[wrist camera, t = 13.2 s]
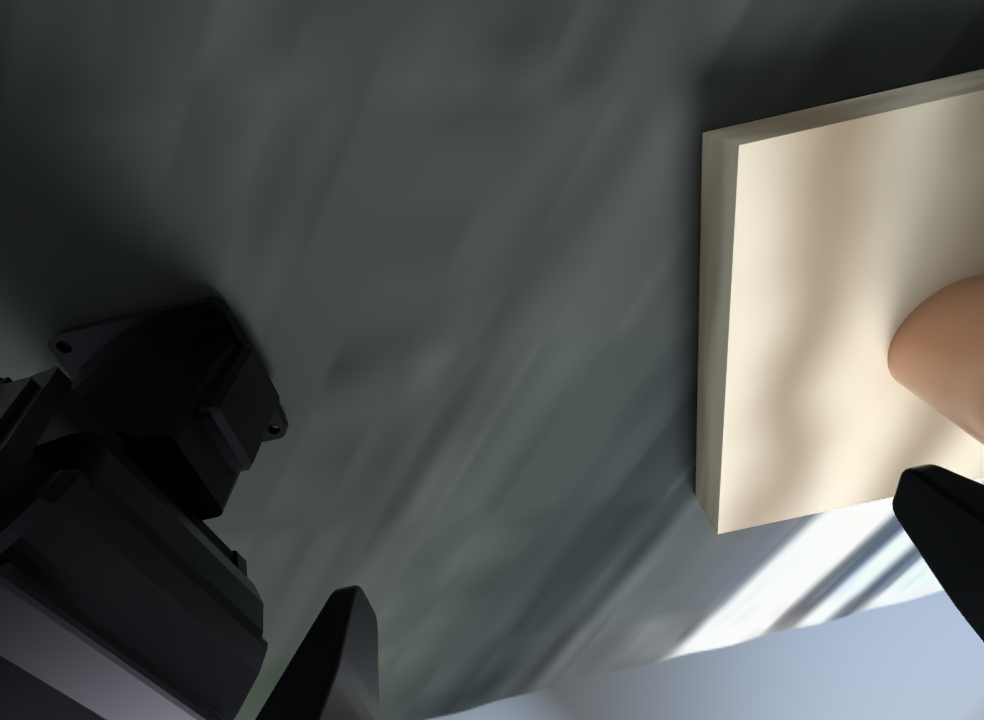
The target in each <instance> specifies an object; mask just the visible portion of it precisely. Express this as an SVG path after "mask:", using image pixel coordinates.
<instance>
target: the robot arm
mask: <svg viewBox="0 0 984 720" xmlns="http://www.w3.org/2000/svg"><path fill="white" fill-rule="evenodd" d="M207 308H212V309H215V310H216V311H217V312H218V316H217V315H212V314H210V313H209V312H208V310H207ZM63 341H64V342H67V343H68V344H69V345H71V347H72V348H70V347H68V346H66V345H65V344H64V343H63ZM48 346H49V348H50V350H51V351H52V353H53V354H54V355H55V357H56V358H57V359H58V361H59V362H60V363H61V365H62V366H63V367H64V368H65V370H66V371H67V372H68V374H69V375H70V376H71V377H70V378H69V379H68V378H67V376H66V375H65V374H64V373H63V372H62V371H61V370H60V369H59V368H58V367H55V368H52V369H49V370H46V371H44V372H41V373H38V374H36V375H33V376H31V377H28V378H24V379H20V380H16V381H12V380H11V379H10V378H9V377H6V378H0V720H234V719H235V717H236V716H237V714H238V712H239V710H240V708H241V707H242V705H243V703H244V701H245V699H246V697H247V695H248V693H249V692H250V690H251V688H252V686H253V684H254V682H255V680H256V678H257V676H258V674H259V672H260V669H261V666H262V663H263V660H264V657H265V654H266V651H267V644H268V643H267V642H266V640H265V639H264V638H263V637H262V634H263V602H262V600H261V598H260V596H259V594H258V592H257V589H256V587H255V585H254V584H253V583H252V582H251V581H250V580H249V579H248V578H247V567H246V560H245V559H244V558H243V557H242V556H241V555H240V554H239V553H238V552H237V551H231V550H230V549H229V548H228V547H227V546H226V545H225V544H224V543H223V542H222V541H221V540H220V539H219V538H218V537H217V536H216V535H215V534H214V533H213V532H212V530H211V529H210V528H209V527H208V526H207V525H206V524H205V523H204V522H203V520H206V519H210V518H215V517H218V516H220V515H221V514H222V512H223V510H224V508H225V506H226V503H227V501H228V499H229V497H230V494H231V492H232V490H233V487H234V485H235V483H236V481H237V478H238V476H239V474H240V472H241V471H246V470H249V468H250V467H251V465H252V464H253V462H254V459H255V457H256V454H257V452H258V450H259V447H260V445H261V442H265V441H270V440H274V439H279V438H281V437H283V436H284V435H285V434H286V431H287V428H288V421H287V419H286V417H285V415H284V413H283V411H282V410H281V408H280V406H279V404H278V402H279V399H280V398H279V395H278V393H277V391H276V389H275V387H274V385H273V383H272V381H271V380H270V378H269V376H268V374H267V372H266V370H265V368H264V366H263V364H262V362H261V360H260V358H259V356H258V354H257V352H256V350H255V349H254V348H253V347H251V346H250V345H248V344H247V342H246V340H245V338H244V337H243V335H242V333H241V331H240V329H239V327H238V325H237V323H236V321H235V319H234V317H233V315H232V314H231V312H230V310H229V308H228V306H227V305H226V303H225V302H224V301H222V300H221V299H219V298H215V297H207V298H202V299H198V300H193V301H189V302H185V303H180V304H176V305H171V306H167V307H162V308H158V309H154V310H149V311H145V312H140V313H136V314H131V315H127V316H123V317H118V318H114V319H109V320H105V321H100V322H96V323H91V324H87V325H83V326H78V327H74V328H69V329H65V330H61V331H59V332H57V333H56V334H55V335H53V336H52V337H51V338H50V339H49V341H48ZM271 425H276V426H278V427H279V428H273V427H272V426H271ZM892 504H893V510H894V513H895V516H896V518H897V519H898V521H899V522H900V524H901V525H902V527H903V528H904V530H905V531H906V533H907V534H908V536H909V537H910V539H911V540H912V542H913V543H914V545H915V547H916V548H917V550H918V551H919V553H920V554H921V556H922V557H923V559H924V560H925V562H926V563H927V565H928V566H929V568H930V569H931V571H932V572H933V574H934V575H935V577H936V578H937V580H938V581H939V583H940V584H941V586H942V587H943V589H944V590H945V592H946V593H947V595H948V596H949V597H950V599H951V600H952V602H953V603H954V605H955V606H956V607H957V609H958V610H959V611H960V612H961V614H962V615H963V616H964V617H965V619H966V620H967V622H968V623H969V624H970V625H971V627H972V628H973V629H974V630H975V632H976V633H977V634H978V635H979V637H980V638H981V639H982V640H983V642H984V485H983V484H980V483H978V482H976V481H973V480H971V479H969V478H966V477H964V476H962V475H959V474H957V473H955V472H952V471H950V470H948V469H945V468H943V467H940V466H938V465H934V464H925V465H920V466H915V467H911V468H907V469H905V470H904V471H903V472H902V474H901V476H900V479H899V482H898V486H897V489H896V492H895V495H894V498H893V503H892ZM255 720H379V678H378V628H377V619H376V615H375V612H374V610H373V608H372V607H371V605H370V603H369V601H368V599H367V597H366V595H365V594H364V592H363V590H362V589H361V587H359V586H357V585H354V586H350V587H345V588H340V589H337V590H335V591H334V592H333V593H332V594H331V596H330V597H329V599H328V600H327V602H326V604H325V605H324V607H323V609H322V610H321V612H320V614H319V615H318V617H317V619H316V620H315V622H314V624H313V625H312V627H311V628H310V630H309V632H308V633H307V635H306V637H305V638H304V640H303V642H302V643H301V645H300V647H299V648H298V650H297V652H296V653H295V655H294V657H293V658H292V660H291V662H290V663H289V665H288V666H287V668H286V670H285V671H284V673H283V675H282V676H281V678H280V680H279V681H278V683H277V685H276V686H275V688H274V690H273V691H272V693H271V695H270V696H269V698H268V700H267V701H266V703H265V705H264V706H263V708H262V709H261V711H260V713H259V714H258V716H257V718H256V719H255Z"/></svg>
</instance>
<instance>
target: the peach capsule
mask: <svg viewBox="0 0 984 720" xmlns="http://www.w3.org/2000/svg"><path fill="white" fill-rule="evenodd" d="M888 368H889V371H890V374H891V375H892V377H893V378H894V379H895V380H896V381H897V382H898V383H900V384H901V385H902V386H904V387H905V388H906V389H908V390H909V391H910V392H912V393H913V394H914V395H916V396H917V397H919V398H920V399H921V400H923V401H924V402H925V403H927V404H928V405H929V406H931V407H932V408H933V409H935V410H936V411H938V412H939V413H940V414H942V415H943V416H944V417H946V418H947V419H948V420H950V421H951V422H952V423H954V424H955V425H957V426H958V427H959V428H961V429H962V430H963V431H965V432H966V433H967V434H969V435H970V436H971V437H973V438H974V439H976V440H977V441H978V442H980V443H981V444H982V445H984V276H976V277H970V278H967V279H963V280H960V281H958V282H955V283H952V284H950V285H948V286H946V287H944V288H942V289H941V290H939V291H937V292H936V293H934V294H933V295H931V296H930V297H928V298H927V299H926V300H924V301H923V302H922V303H921V304H919V305H918V306H917V307H916V308H915V309H914V310H913V311H912V312H911V313H910V314H909V315H908V317H907V318H906V319H905V320H904V321H903V323H902V324H901V325H900V327H899V328H898V330H897V332H896V333H895V335H894V337H893V339H892V342H891V344H890V347H889V351H888Z"/></svg>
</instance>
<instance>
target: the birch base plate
mask: <svg viewBox="0 0 984 720" xmlns="http://www.w3.org/2000/svg"><path fill="white" fill-rule="evenodd" d="M976 276H984V69H980V70H976V71H972V72H967V73H963V74H958V75H954V76H950V77H945V78H941V79H936V80H932V81H928V82H923V83H919V84H914V85H910V86H906V87H901V88H897V89H892V90H888V91H884V92H879V93H875V94H870V95H866V96H862V97H857V98H853V99H848V100H844V101H840V102H835V103H831V104H826V105H822V106H818V107H813V108H809V109H804V110H800V111H796V112H791V113H787V114H782V115H778V116H774V117H769V118H765V119H760V120H756V121H752V122H747V123H743V124H738V125H734V126H730V127H725V128H721V129H716V130H712V131H708V132H703V133H702V183H701V235H700V287H699V339H698V391H697V443H696V495H695V496H696V498H697V499H698V501H699V503H700V505H701V506H702V508H703V510H704V511H705V513H706V515H707V517H708V518H709V520H710V522H711V524H712V525H713V527H714V529H715V530H716V532H717V534H721V533H726V532H730V531H735V530H740V529H744V528H749V527H754V526H758V525H763V524H768V523H772V522H777V521H782V520H786V519H791V518H796V517H800V516H805V515H810V514H814V513H819V512H824V511H828V510H833V509H838V508H843V507H847V506H852V505H857V504H861V503H866V502H871V501H875V500H880V499H885V498H889V497H894V495H895V492H896V489H897V486H898V482H899V479H900V476H901V474H902V472H903V471H904V470H905V469H907V468H911V467H915V466H920V465H925V464H934V465H938V466H940V467H943V468H945V469H948V470H950V471H952V472H955V473H957V474H959V475H962V476H964V477H966V478H969V479H971V480H973V479H978V478H983V477H984V445H982V444H981V443H980V442H978V441H977V440H976V439H974V438H973V437H971V436H970V435H969V434H967V433H966V432H965V431H963V430H962V429H961V428H959V427H958V426H957V425H955V424H954V423H952V422H951V421H950V420H948V419H947V418H946V417H944V416H943V415H942V414H940V413H939V412H938V411H936V410H935V409H933V408H932V407H931V406H929V405H928V404H927V403H925V402H924V401H923V400H921V399H920V398H919V397H917V396H916V395H914V394H913V393H912V392H910V391H909V390H908V389H906V388H905V387H904V386H902V385H901V384H900V383H898V382H897V381H896V380H895V379H894V378H893V377H892V375H891V374H890V371H889V368H888V351H889V347H890V344H891V342H892V339H893V337H894V335H895V333H896V332H897V330H898V328H899V327H900V325H901V324H902V323H903V321H904V320H905V319H906V318H907V317H908V315H909V314H910V313H911V312H912V311H913V310H914V309H915V308H916V307H917V306H918V305H919V304H921V303H922V302H923V301H924V300H926V299H927V298H928V297H930V296H931V295H933V294H934V293H936V292H937V291H939V290H941V289H942V288H944V287H946V286H948V285H950V284H952V283H955V282H958V281H960V280H963V279H967V278H970V277H976Z"/></svg>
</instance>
